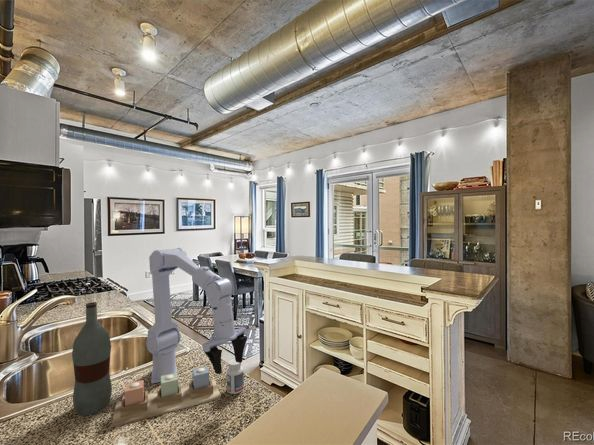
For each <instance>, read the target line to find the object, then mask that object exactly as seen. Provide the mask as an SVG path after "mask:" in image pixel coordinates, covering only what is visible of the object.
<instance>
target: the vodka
mask: <svg viewBox="0 0 594 445" xmlns="http://www.w3.org/2000/svg"><path fill="white" fill-rule="evenodd" d="M97 304H98V302H96V301H93V302H91V301H90V302H87V303H85V324H84V325H83V327H82V328H81V329H80V331H79V332H78V334H77V336H76V337H75V338H74V341H73V345H72V352H71V358H72V364H73V371H74V372H73V373H74V387H73V392H72V393H73V394H72V405H73V409H74V412H75V414H76V415H77V416H83V417H84V416H85V417H86V416H91V415H94V414H97V413H99V412H102V411H103V410H104V409H107V407H109V405H110V403H111V399H112V390H113V388H112V380H111V375H110V362H111V351H112V344H111V337H110V334H109V332H108V331H107V330H106V329H105V327H104V326H103V325H102V324H101V323H100V321H98V308H97V306H98V305H97Z"/></svg>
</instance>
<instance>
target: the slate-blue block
mask: <svg viewBox="0 0 594 445" xmlns="http://www.w3.org/2000/svg"><path fill="white" fill-rule="evenodd" d="M209 376H210V370H209V367H208V365H206V366H201V367H196V368H192V380H193V387H194V389H198V388H202V387H206V386H209Z"/></svg>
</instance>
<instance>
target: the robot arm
mask: <svg viewBox="0 0 594 445" xmlns="http://www.w3.org/2000/svg"><path fill="white" fill-rule="evenodd" d="M148 259H149V260H148V261H149V273H150V275H151V279H152V293H153V296H152V297H153V310H154V311H153V312H154V323H153V324H152V326H150V327H149V329H148V330H147V335H146V336H147V337H146V340H145V341H146V343H145V345H146V349H147V351H148V352H149V353H150V354H152V369H151V379H150V380H151V384H156V383H157V384H158V383H161V376H163V375H168V374H173V373H177V378H178V369H177V365H176V364H177V363H176V361H177V360H176V354H177V352H176V349H177V348H178V345H179V343H180V342H181V338H182V334H181V332H180V328H179V324H178V323H177V322H175V321H174V320H173V318H172V304H171V288H170V285H171V284H170V275H171V274H172V273H173V272H174V271H176V269H180V270H182V271H183V272H184V273H187V274H188V275H190V276H191V280H192V282H193V283H194V284H195V285H197V286H198V287H199V288H201V290H203V291H205V296H206V298H207V300H208V301H209V302H208V303H209V306H210V307H211V312H212V320H213V321H212V322H213V328H214V337H213V338H211V339H209V340H207V341H206V342H204V343H202V344H201V345H202V351H203V352H204V354H205V355H206V356H207V358H208V360H209V361H210V364H211V365H212V368H213V370H214V374H217V375H222V373H223V368H222V354H223V353H222V352H223V349H220V348H219V346H222V345H224V344H226V343H228V342H231V344H232V349H233V353H234V359H235V360H236V362H239V363H241V364H242V363H243V358H244V357H243V356H244V352H245V347H246V343H247V341H248V337H247V334H248V333H247V327H239V328H236V329H235V320H234V312H233V303H232V295H233V294H234V292H235V285H234V282H233V281H232V280H231V279H230V278H229V277H220V275H218V274H216V273H215V272H214V271H212V270H211V269H210V267H208V266H199V265H198V264H196V263H195V262H194V261H193V260H192V259H191V258H190V257H188V256H187V252H186V250H183V248H180V247H177V248H170V249H169V248H168V249H160V250H158V249H156V250H154V251H152V253H151V254H150V255H149V258H148Z"/></svg>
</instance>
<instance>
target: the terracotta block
mask: <svg viewBox="0 0 594 445" xmlns="http://www.w3.org/2000/svg"><path fill="white" fill-rule="evenodd" d="M144 385H145V384H144V379H142V380H137V381H133V382H132V381H131V382H128V383H125V388H124V396H125V407H126V406H130V405H134V404H138V403H142V402H143V400H144V391H145V389H144V387H145V386H144Z"/></svg>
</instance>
